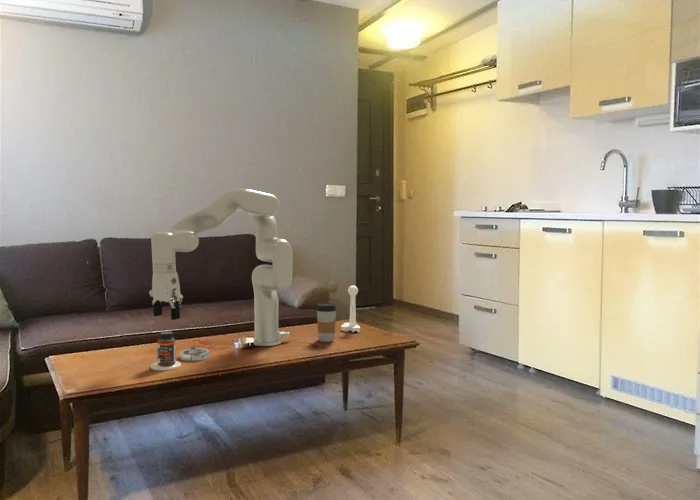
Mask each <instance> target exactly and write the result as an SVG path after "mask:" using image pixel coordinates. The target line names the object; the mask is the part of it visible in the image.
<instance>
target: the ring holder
mask: <svg viewBox="0 0 700 500" xmlns="http://www.w3.org/2000/svg"><path fill="white" fill-rule="evenodd" d="M209 358H211V352H210V349H208V348H202V347H197V348H196V346H190V348H186V349H183V350H181V351H179V359H180V361H185V362H198V361H205V360H206V359H209Z"/></svg>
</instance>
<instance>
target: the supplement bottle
mask: <svg viewBox="0 0 700 500" xmlns="http://www.w3.org/2000/svg"><path fill="white" fill-rule="evenodd" d="M159 335H160V336H159V338H158V339H157V343H156V345H157V362H158V365H159V366H172V365H174V364H175V361H177V360H176V339H175V338H174V337H173V332H172V331H166V330H165V331H161V332H160V334H159Z"/></svg>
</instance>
